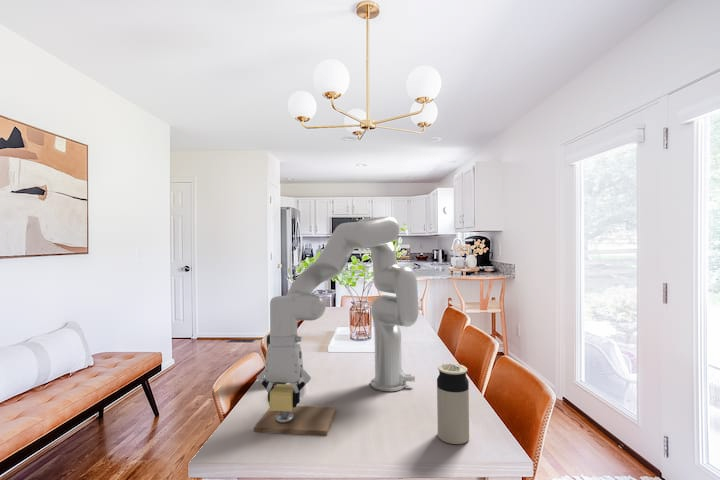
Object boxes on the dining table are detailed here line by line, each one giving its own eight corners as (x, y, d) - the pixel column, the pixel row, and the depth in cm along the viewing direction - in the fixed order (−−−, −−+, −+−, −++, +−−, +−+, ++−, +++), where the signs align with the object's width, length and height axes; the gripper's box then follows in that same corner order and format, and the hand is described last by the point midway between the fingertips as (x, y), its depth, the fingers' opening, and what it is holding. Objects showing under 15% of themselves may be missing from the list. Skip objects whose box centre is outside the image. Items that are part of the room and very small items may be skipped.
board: (336, 411, 113) (335, 407, 113) (326, 435, 99) (326, 430, 99) (271, 408, 115) (271, 404, 115) (253, 431, 101) (253, 427, 101)
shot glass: (291, 399, 122) (291, 377, 122) (285, 392, 128) (285, 371, 128) (311, 395, 125) (311, 374, 125) (304, 388, 131) (304, 368, 131)
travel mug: (442, 446, 93) (441, 373, 93) (434, 430, 101) (433, 363, 101) (473, 444, 94) (472, 372, 94) (463, 428, 101) (462, 362, 102)
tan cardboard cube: (297, 402, 108) (297, 384, 108) (291, 411, 102) (291, 392, 102) (277, 401, 109) (277, 383, 109) (269, 410, 103) (269, 392, 103)
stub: (295, 416, 107) (295, 398, 107) (290, 424, 103) (290, 405, 103) (279, 415, 108) (279, 398, 108) (273, 423, 103) (273, 405, 103)
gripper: (316, 337, 108) (317, 400, 108) (259, 336, 110) (259, 398, 110) (310, 344, 101) (310, 412, 101) (248, 343, 103) (248, 409, 102)
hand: (283, 404), depth 105 cm, fingers closed on tan cardboard cube, 6 cm apart
